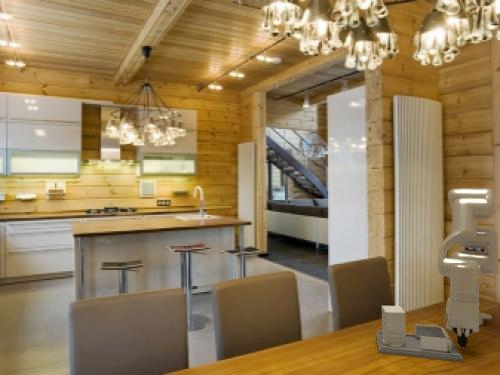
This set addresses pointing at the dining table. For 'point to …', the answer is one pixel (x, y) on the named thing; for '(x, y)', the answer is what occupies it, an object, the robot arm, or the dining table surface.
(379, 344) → the base plate
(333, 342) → the dining table surface
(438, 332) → the collar
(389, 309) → the supplement box
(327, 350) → the dining table surface
